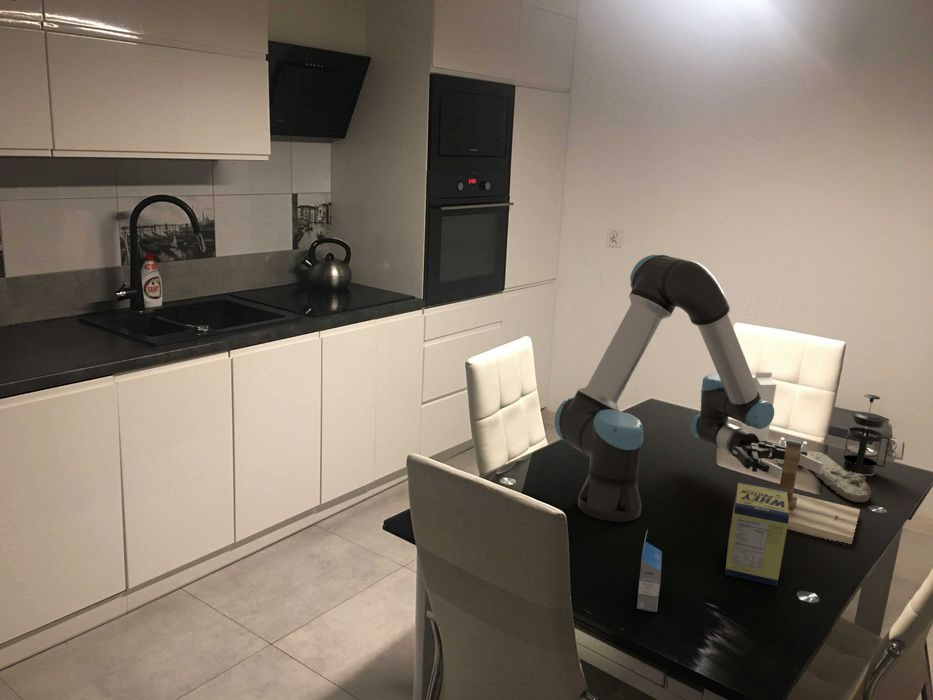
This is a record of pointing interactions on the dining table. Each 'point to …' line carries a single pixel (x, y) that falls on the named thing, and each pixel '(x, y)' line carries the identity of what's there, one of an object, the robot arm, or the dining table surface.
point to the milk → (767, 393)
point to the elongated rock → (842, 479)
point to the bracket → (783, 443)
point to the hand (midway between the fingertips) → (801, 471)
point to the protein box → (757, 533)
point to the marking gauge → (790, 469)
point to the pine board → (823, 519)
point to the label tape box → (649, 578)
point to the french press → (864, 442)
